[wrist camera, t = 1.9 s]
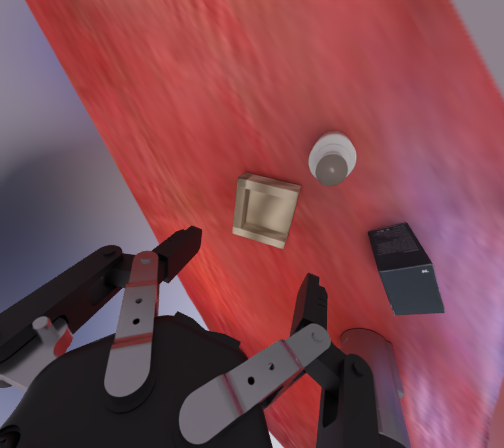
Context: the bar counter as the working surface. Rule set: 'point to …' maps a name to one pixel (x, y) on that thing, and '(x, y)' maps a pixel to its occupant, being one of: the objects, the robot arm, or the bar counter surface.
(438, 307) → the box
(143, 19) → the bar counter surface
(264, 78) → the bar counter surface
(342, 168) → the bottle
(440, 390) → the bar counter surface
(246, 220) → the rest
